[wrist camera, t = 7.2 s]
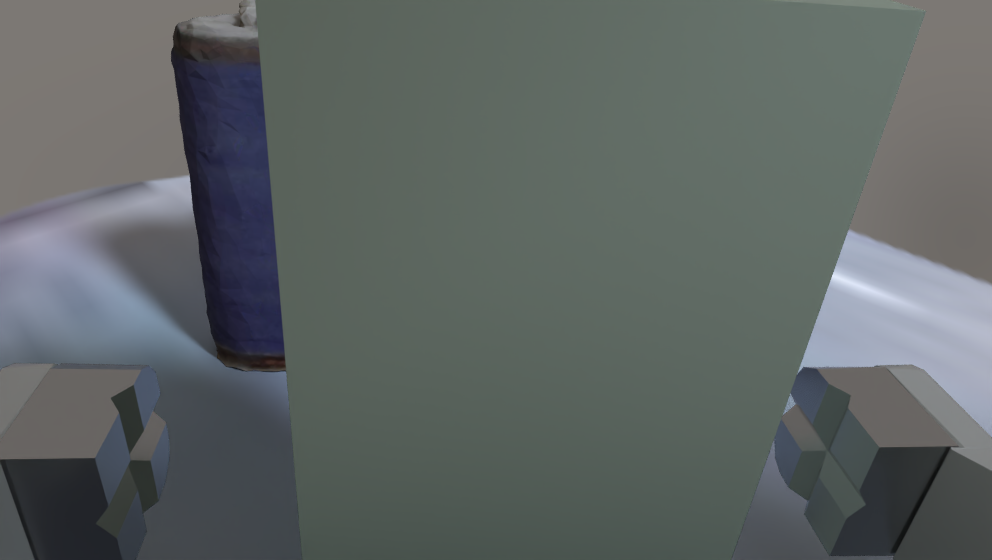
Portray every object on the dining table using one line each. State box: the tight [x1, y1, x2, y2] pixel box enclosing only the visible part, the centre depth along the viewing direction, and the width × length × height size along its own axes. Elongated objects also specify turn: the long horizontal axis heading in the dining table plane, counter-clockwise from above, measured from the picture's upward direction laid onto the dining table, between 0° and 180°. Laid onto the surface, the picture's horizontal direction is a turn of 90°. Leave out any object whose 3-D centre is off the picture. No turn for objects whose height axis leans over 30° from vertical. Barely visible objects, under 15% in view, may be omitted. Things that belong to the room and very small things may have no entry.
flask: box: [171, 0, 286, 371], centre depth 19 cm, size 9×3×11 cm, turn 110°
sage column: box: [255, 0, 926, 560], centre depth 9 cm, size 4×4×12 cm
